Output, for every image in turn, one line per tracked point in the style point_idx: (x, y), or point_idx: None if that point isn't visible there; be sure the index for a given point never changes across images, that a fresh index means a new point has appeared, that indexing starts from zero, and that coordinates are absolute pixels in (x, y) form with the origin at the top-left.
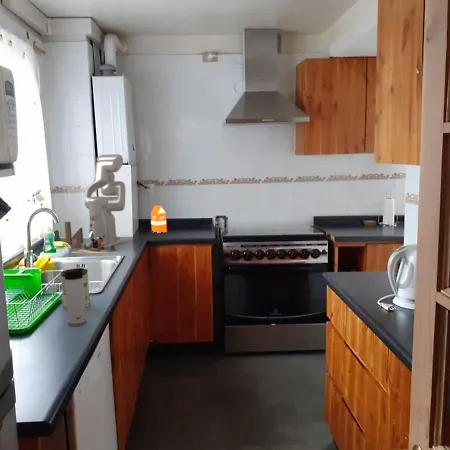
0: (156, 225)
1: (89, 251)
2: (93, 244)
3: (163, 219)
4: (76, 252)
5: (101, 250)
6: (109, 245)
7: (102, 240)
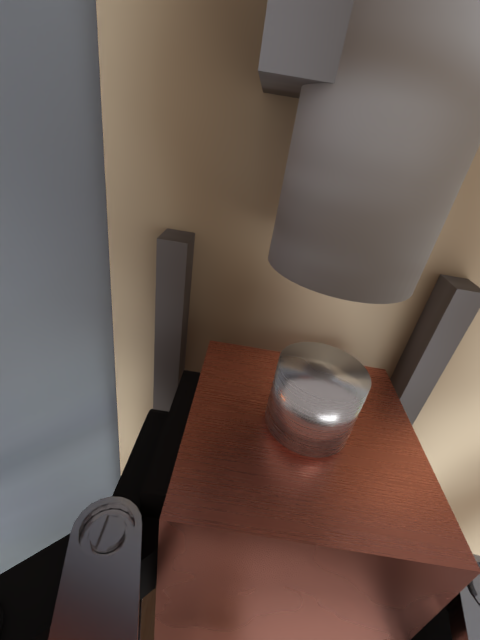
0: None
1: (427, 447)
2: None
3: None
4: (477, 547)
5: (345, 306)
6: None
7: (232, 484)
